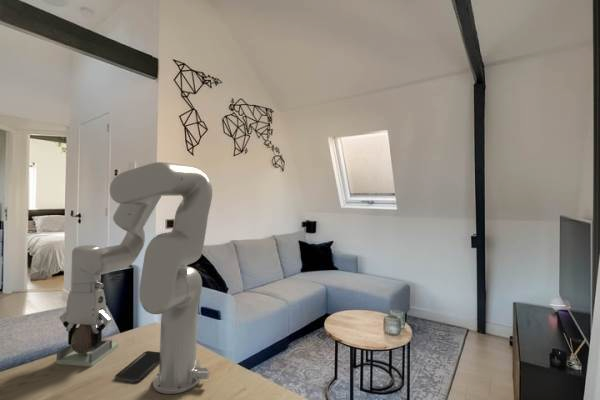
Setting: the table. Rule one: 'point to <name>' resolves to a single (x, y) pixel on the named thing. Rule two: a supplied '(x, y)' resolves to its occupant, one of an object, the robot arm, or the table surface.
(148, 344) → the table surface
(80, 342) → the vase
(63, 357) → the grey-green shallow square tray
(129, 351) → the table surface
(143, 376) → the phone
